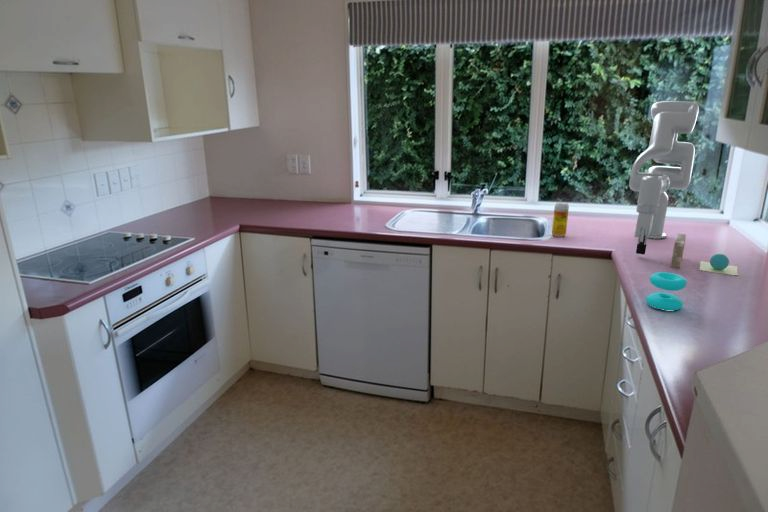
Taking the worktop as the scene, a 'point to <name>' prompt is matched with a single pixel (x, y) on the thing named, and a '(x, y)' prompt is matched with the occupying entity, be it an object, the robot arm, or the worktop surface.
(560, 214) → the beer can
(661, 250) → the worktop surface
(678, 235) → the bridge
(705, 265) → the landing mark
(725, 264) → the ball
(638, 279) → the worktop surface
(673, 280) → the donuts
